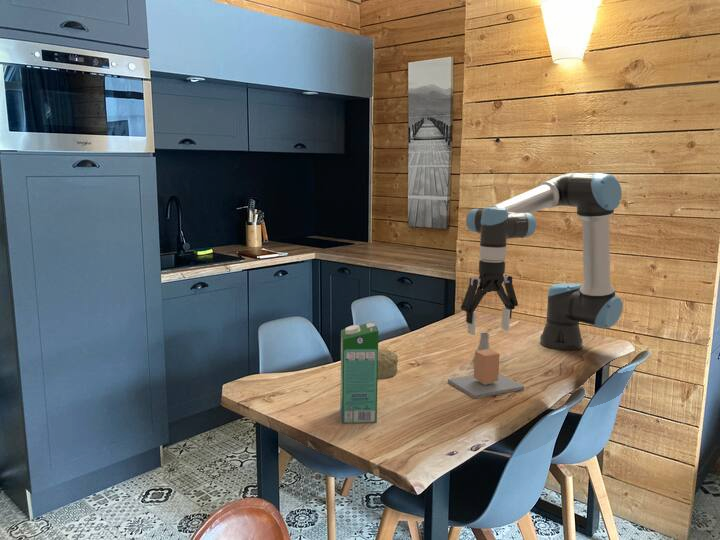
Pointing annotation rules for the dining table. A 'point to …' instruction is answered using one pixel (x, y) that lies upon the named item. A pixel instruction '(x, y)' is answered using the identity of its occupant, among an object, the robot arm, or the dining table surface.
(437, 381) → the dining table surface
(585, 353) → the dining table surface
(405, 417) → the dining table surface
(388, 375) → the decorative object
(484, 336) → the flask
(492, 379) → the peach square-faced block
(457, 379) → the grey flat base
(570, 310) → the robot arm
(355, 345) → the milk carton
